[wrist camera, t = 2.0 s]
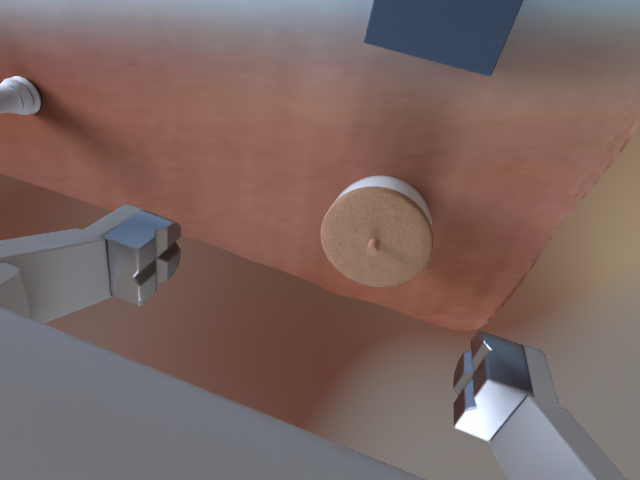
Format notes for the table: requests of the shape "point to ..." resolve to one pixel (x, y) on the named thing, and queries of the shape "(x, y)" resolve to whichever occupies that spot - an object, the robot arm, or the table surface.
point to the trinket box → (378, 232)
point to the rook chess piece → (19, 96)
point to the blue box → (444, 30)
